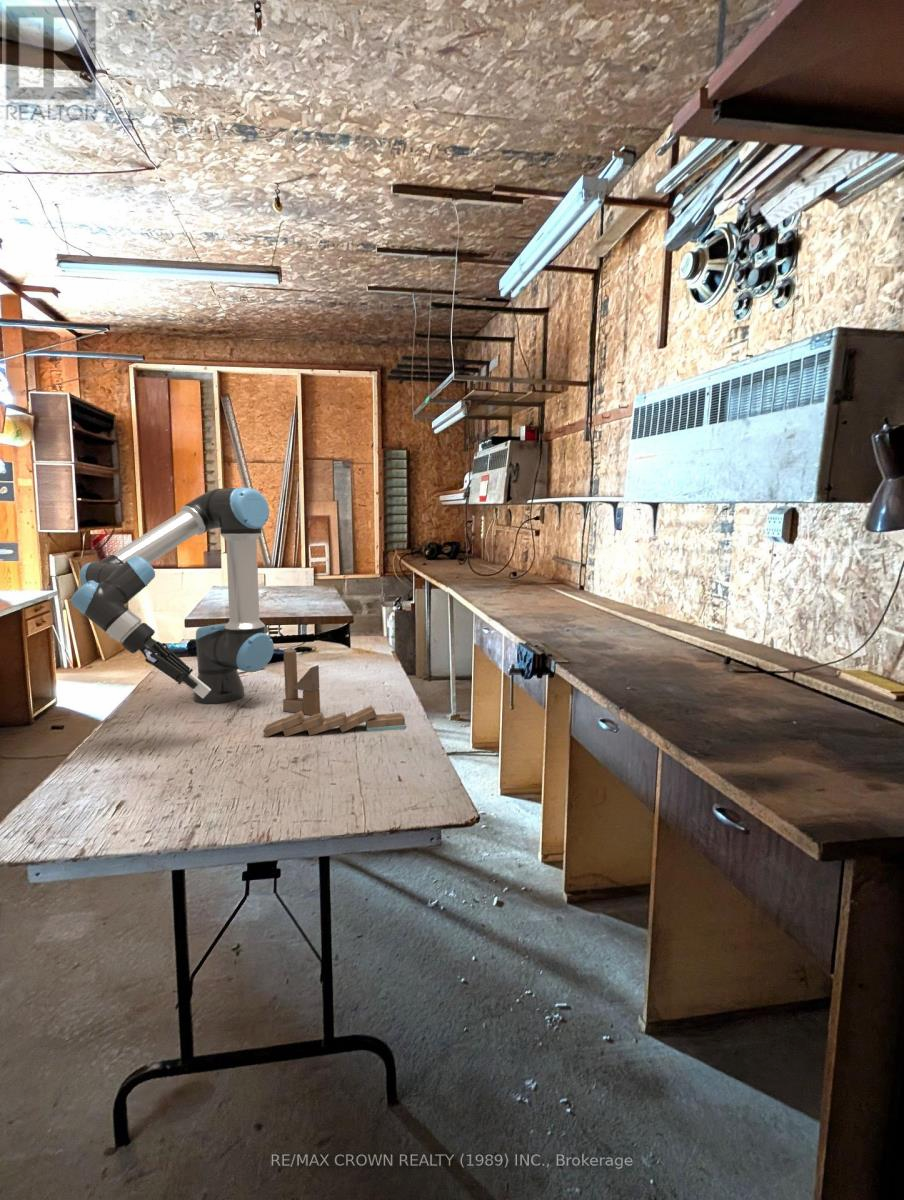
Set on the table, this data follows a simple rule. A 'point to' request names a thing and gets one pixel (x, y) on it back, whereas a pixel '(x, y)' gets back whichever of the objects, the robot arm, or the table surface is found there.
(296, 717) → the domino
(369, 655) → the table surface
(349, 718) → the domino
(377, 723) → the domino
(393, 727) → the domino
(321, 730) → the domino
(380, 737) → the table surface
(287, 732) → the domino
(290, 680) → the wooden block
